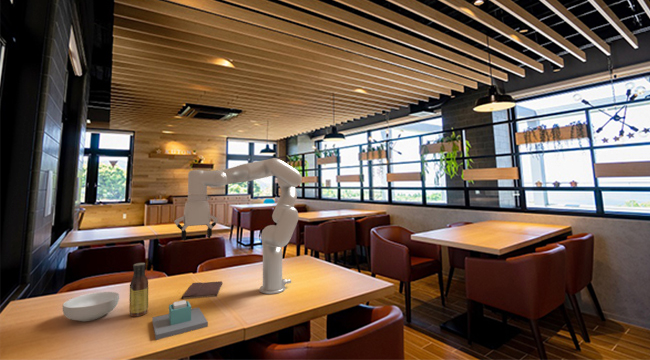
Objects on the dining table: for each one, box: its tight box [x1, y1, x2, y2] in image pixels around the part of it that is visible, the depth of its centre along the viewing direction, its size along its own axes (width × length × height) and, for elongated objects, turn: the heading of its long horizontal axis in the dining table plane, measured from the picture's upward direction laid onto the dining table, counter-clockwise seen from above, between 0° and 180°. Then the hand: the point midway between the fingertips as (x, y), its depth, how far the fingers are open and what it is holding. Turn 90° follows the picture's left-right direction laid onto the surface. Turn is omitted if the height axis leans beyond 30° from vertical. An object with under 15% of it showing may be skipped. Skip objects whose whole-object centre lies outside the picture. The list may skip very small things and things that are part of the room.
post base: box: [151, 299, 209, 341], centre depth 102 cm, size 16×16×8 cm
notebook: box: [181, 280, 223, 300], centre depth 138 cm, size 15×20×2 cm
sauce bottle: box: [128, 262, 149, 318], centre depth 111 cm, size 6×6×20 cm
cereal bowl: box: [62, 291, 120, 322], centre depth 109 cm, size 17×17×7 cm
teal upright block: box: [168, 300, 192, 325], centre depth 102 cm, size 6×6×5 cm
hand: (196, 238), depth 120 cm, fingers open, 9 cm apart
